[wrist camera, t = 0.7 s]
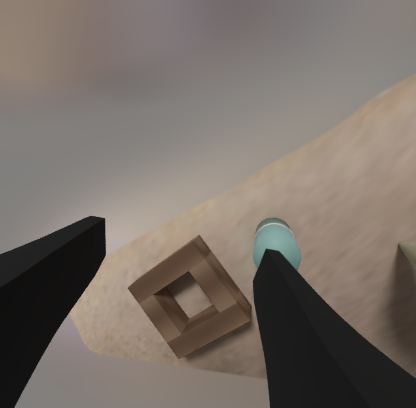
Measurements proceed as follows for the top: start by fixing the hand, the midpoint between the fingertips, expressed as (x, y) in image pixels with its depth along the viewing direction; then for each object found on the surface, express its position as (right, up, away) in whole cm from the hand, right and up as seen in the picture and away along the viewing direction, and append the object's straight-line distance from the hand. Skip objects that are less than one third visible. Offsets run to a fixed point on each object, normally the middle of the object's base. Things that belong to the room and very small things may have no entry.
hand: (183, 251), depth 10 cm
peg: (+9, -1, +16) cm, 18 cm away
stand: (-1, -9, +20) cm, 22 cm away
